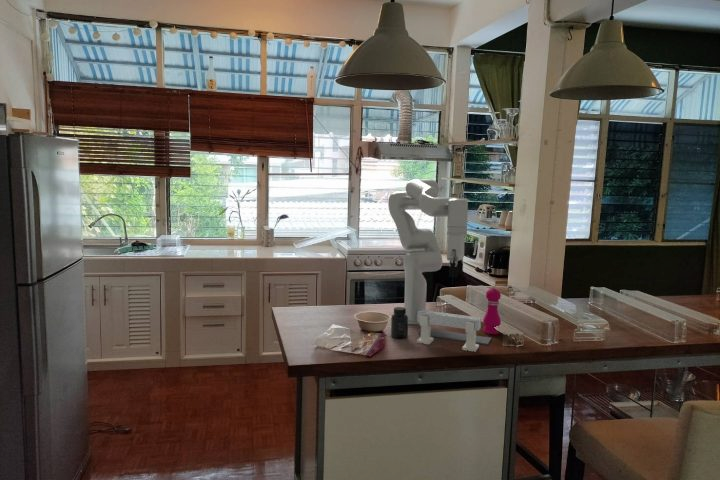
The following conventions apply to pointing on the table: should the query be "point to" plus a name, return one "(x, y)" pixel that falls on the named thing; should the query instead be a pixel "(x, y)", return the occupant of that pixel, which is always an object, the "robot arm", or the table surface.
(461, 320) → the rail
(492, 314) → the pepper mill
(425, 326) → the post left
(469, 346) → the post right
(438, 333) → the mat
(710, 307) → the table surface
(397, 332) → the supplement bottle
